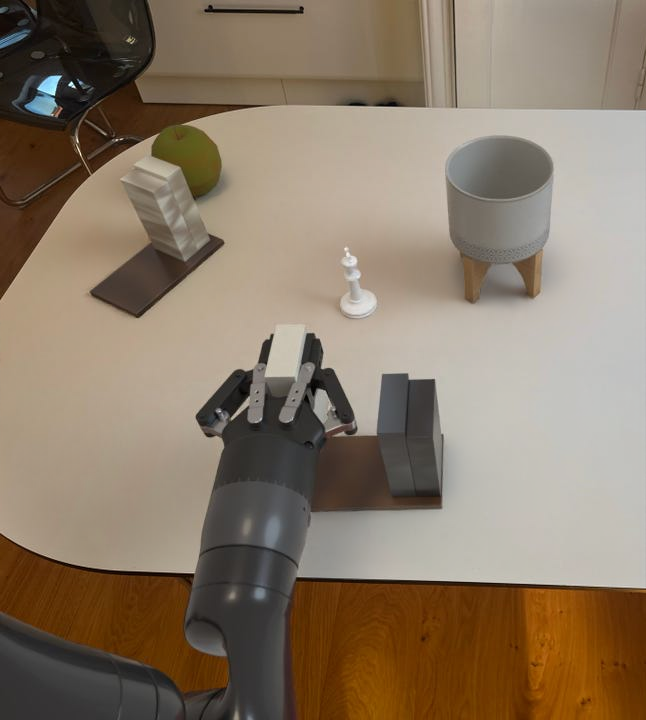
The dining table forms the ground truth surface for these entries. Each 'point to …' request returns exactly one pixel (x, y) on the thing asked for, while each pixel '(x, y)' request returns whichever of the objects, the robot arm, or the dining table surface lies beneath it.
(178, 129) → the apple
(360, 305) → the chess piece
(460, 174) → the planter
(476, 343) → the dining table surface
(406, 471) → the grey book stand
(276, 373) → the white book
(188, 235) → the white book stand
